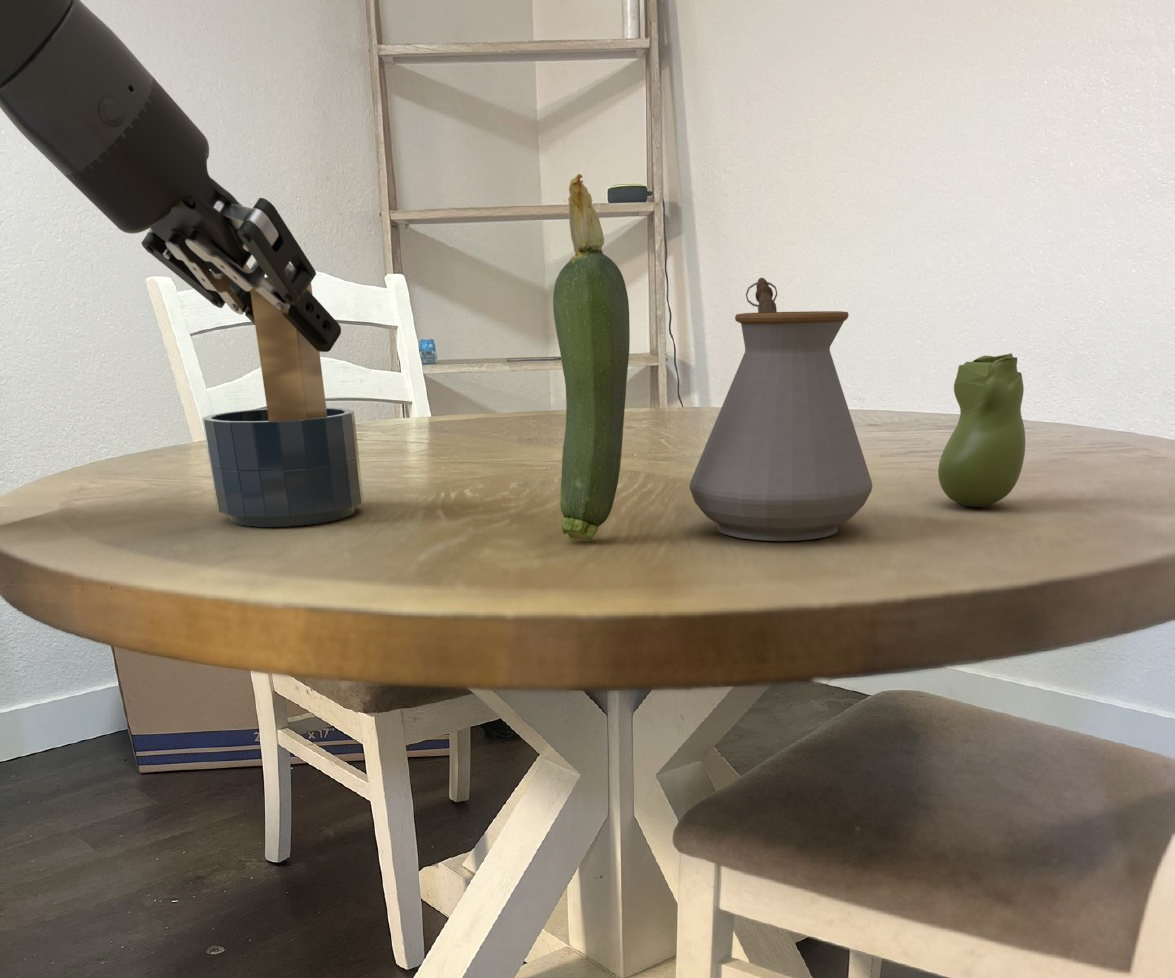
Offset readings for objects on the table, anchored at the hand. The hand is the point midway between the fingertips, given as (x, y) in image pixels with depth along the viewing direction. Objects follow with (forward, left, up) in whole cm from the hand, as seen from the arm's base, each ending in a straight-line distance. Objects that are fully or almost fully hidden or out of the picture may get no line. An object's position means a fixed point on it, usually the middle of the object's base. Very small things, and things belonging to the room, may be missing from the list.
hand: (312, 341), depth 72 cm
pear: (+46, +7, -12) cm, 48 cm away
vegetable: (+22, -8, -12) cm, 26 cm away
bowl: (-2, -2, -12) cm, 12 cm away
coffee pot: (+32, +2, -12) cm, 34 cm away
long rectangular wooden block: (-1, -2, -8) cm, 8 cm away
